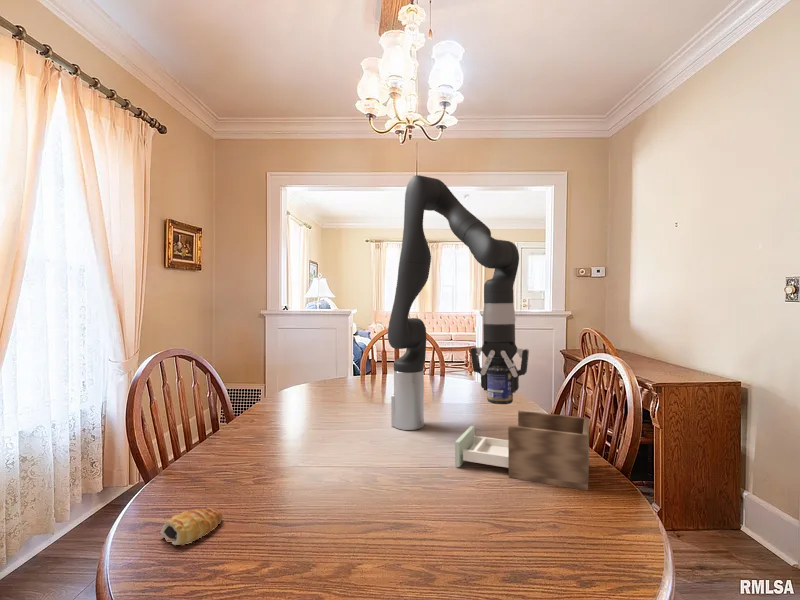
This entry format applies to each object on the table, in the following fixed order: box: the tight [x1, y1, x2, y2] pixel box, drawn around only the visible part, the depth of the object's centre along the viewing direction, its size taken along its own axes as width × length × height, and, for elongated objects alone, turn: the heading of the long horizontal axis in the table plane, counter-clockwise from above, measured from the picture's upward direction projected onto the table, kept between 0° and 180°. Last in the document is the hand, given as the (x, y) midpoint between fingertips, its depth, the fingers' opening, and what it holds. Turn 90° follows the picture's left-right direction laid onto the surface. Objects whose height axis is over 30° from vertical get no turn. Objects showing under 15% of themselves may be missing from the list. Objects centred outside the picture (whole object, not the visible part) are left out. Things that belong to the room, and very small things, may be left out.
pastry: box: [160, 507, 223, 546], centre depth 73 cm, size 9×7×4 cm
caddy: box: [507, 410, 590, 491], centre depth 96 cm, size 16×14×11 cm
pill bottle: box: [486, 357, 514, 405], centre depth 103 cm, size 6×6×11 cm
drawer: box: [454, 425, 509, 469], centre depth 101 cm, size 16×14×6 cm
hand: (499, 390), depth 103 cm, fingers closed on pill bottle, 6 cm apart
